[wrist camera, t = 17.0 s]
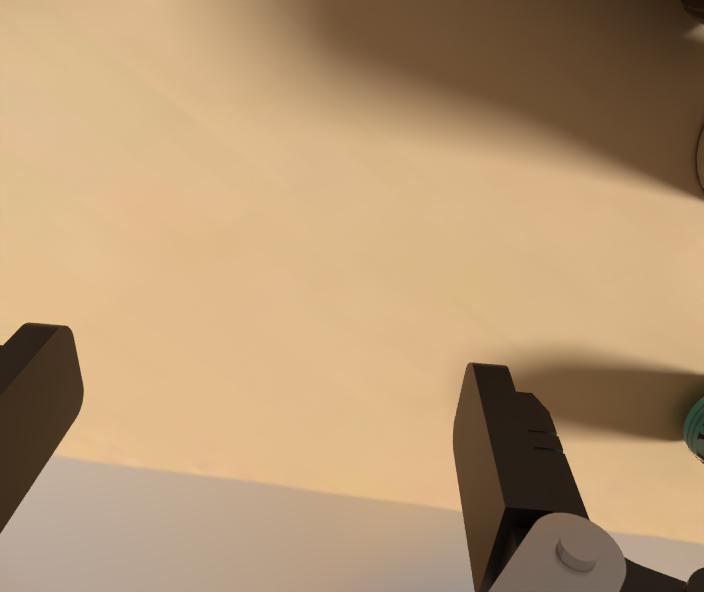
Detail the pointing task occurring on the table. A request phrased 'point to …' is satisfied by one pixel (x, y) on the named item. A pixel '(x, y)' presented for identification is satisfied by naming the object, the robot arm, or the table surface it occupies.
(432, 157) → the table surface
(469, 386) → the robot arm
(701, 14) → the muzzle brake
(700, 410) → the beverage bottle
